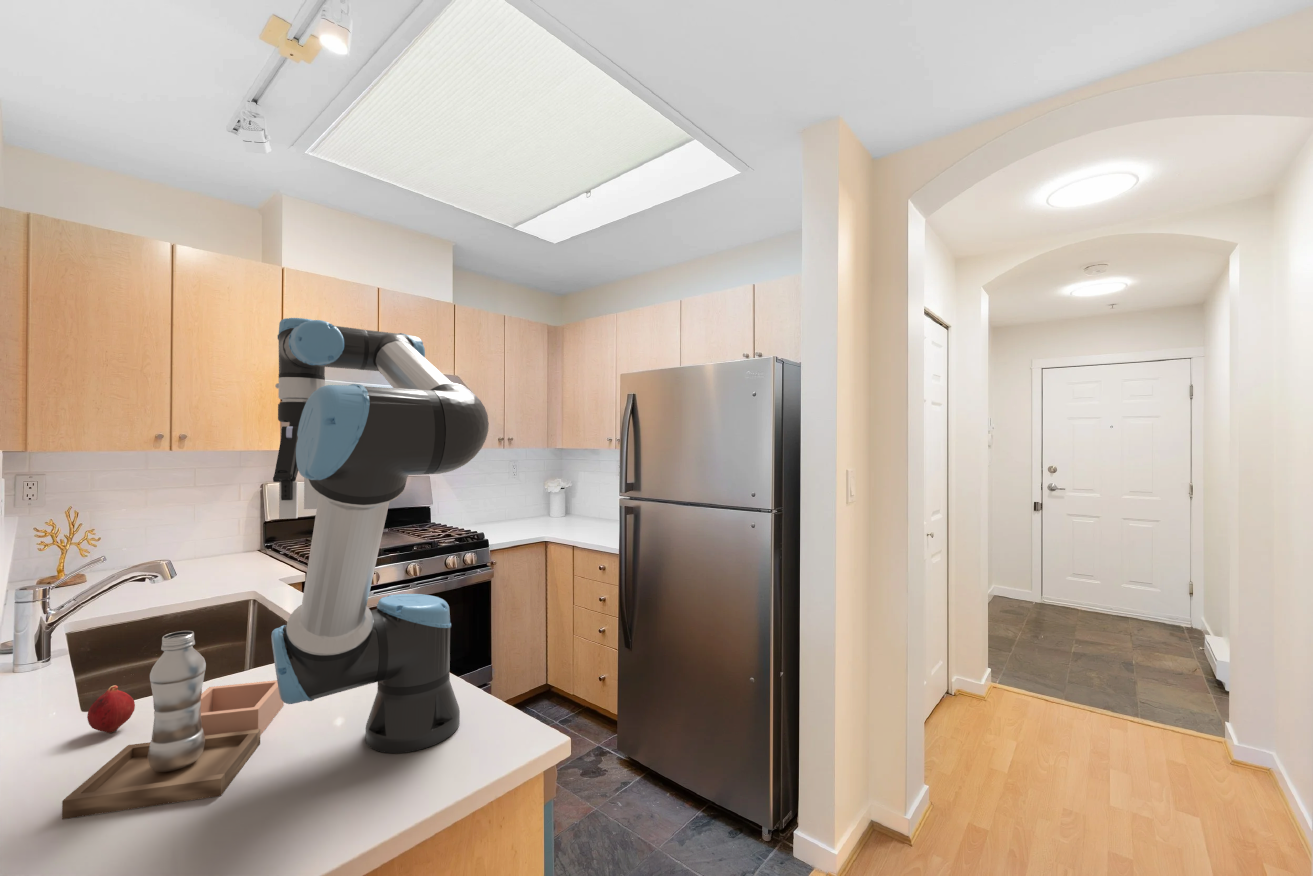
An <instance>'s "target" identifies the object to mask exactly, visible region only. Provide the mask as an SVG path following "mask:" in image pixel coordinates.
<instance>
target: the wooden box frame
mask: <svg viewBox="0 0 1313 876" xmlns="http://www.w3.org/2000/svg"><path fill="white" fill-rule="evenodd" d="M200 701H201V705H200V709H201V721H202V728H203V731H204V736H206V735H215V734H223V733H231V732H239V731H248V730H256V729H260V737H261V735H262V734H263V733H264V732H265V731H266V729H267V727H269V725H270V724H271V723H272V722H273V720H274V719H275V718H276V716H277V715H278V714H279V712H280V711H281V710H282V708H284V705H285V703H284V702H283V701H282V700H281V698H280V694H279V688H278V683H277V679H275V680H266V681H256V682H255V681H254V682H245V683H236V684H235V683H234V684H224V685H217V686H215V685H214V686H209V687H207V689H205V690H204V691H203V692H202V693H201V699H200ZM273 718H274V719H273Z"/></svg>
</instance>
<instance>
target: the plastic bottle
mask: <svg viewBox="0 0 1313 876" xmlns="http://www.w3.org/2000/svg"><path fill="white" fill-rule="evenodd" d="M194 645H196V640H195V632H194V631H193V630H181V631H175V632H171V633H167V634H165V635H163V636H162V638H161V647H160V648H161V649H160V650H161V651H163V653H162V654H161V655H160V657H159V658H158V659H157V660H156V661H155V663H154V665H153V666H152V668H151V670H150V673H149V681H150V687H151V693H152V698H153V701H152V703H153V710H154V711H153V726H152V733H151V740H150V742H151V743H150V746H149V751H148V761H149V766H150V767H151V768H152V769H153V770H154V771H157V772H168V771H173V770H177V769H180V768H183V767H186V766H188V765H190V764H192V763H194V762H195V761H196V760H197V759H198V758H199V757H200V755H201V754H202V753H203V749H204V745H205V736H204V731H203V728H202V721H201V709H200V705H201V701H200V699H201V694H202V693H203V692H202V691H203V690H202V689H203V684H204V679H205V674H206V668H207V663H206V660H205V657H204V656H202V654H201V653H200V652H199V651H197V650H196V649H195V648H194V647H193V646H194Z"/></svg>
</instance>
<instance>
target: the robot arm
mask: <svg viewBox="0 0 1313 876" xmlns="http://www.w3.org/2000/svg"><path fill="white" fill-rule="evenodd" d="M277 340H278V383H276V384H275V389H278V397H277V398H278V399H280V400H281V402H280V401H279V403H278V404H277V420H278V421H279V422H280V423H289V425H288V426H281V430H280V431H281V432H280V434H281V435H280V443H279V448H278V453H277V458H276V463H275V468H274V474H273V478H272V481H273V483H279V484H278V486H279V487H278V488H279V489H278V500H279V501H278V519H279V520H280V519H281V520H282V519H283V520H287V519H288V520H290V519H298V517H299V481H296V480H297V477H298V473H299V474H300V475H301V476H302V478H303V479H304V483H303V493H304V495H303V509H304V510H316V512H315V517H314V526H313V530H312V531H313V532H312V538H311V543H310V548H309V549H310V550H309V556H308V561H307V569H306V576H305V582H304V588H303V596H302V601H301V604H300V605H299V606H297V607H296V608H295V609H294V610H293V611H292V612H291V614H290V615H289V617H288V620H287V622H286V624H283V625H281V626H280V627H276V628H274V629H273V630H272V632H271V646H272V654H273V660H274V661H273V662H274V669H275V675H276V676H275V677H276V680H277V683H278V688H279V694H280V698H281V700H282V701H283V702H284V704H288V705H294V704H298V703H302V702H312V701H315V700H317V699H320V698H324V697H327V696H331V695H334V694H339V693H342V692H345V691H349V690H352V689H357V688H360V687H364V686H367V685H368V686H369V685H371V684H375V683H377V690H376V691H377V692H376V694H375V698H374V700H373V703H372V706H371V710H370V712H369V715H368V718H367V721H366V724H365V743H366V744H367V747H369V748H371V750H372V749H373V750H374V751H377V752H381V753H389V754H400V753H401V754H402V753H410V752H416V751H419V750H423V749H427V748H429V747H433V746H434V745H436V744H439V743H441V742H444V741H445V740H447V739H448V738H450V737H451V736H452V735H453V734H454V733H455V732H456V731H457V730H458V729H459V726H460V723H461V720H460V719H461V718H460V717H461V713H460V712H461V711H460V707H459V704H458V700H457V698H456V693H455V691H454V689H453V687H452V684H451V683H452V682H451V679H450V674H451V672H450V671H451V669H450V668H451V667H450V664H451V663H450V661H451V654H450V653H451V628H452V622H451V615H450V606H449V604H448V602H447V601H446V600H445V599H443V598H441V597H439V596H435V595H429V594H424V593H423V594H422V593H399V594H398V593H397V594H391V595H387V596H383V597H381V598H380V599H379V600H378V602H377V604H376V608H375V609H372V610H371V609H370V608H369V606H368V600H369V596H370V591H371V587H372V583H373V578H374V574H375V570H376V565H377V561H378V560H377V559H378V556H379V551H380V547H381V541H382V538H383V532H384V529H385V523H386V520H387V515H388V509H389V506H390V502H392V501H395V500H396V499H398V498H399V497H400V496H401V495H402V494H403V492H404V491H405V488H406V483H407V480H408V477H409V476H421V475H422V476H424V475H426V476H427V475H440V474H445V473H446V474H447V473H449V472H454V470H455V471H456V470H458V469H459V468H461V467H464V466H465V465H466V464H468V463H469V462H470V461H472V460H473V459H474V458H475V457H476V456H477V455H478V453H480V451H481V450H482V448H483V446H484V445H485V443H486V440H487V438H488V434H489V433H488V432H489V416H488V412H487V410H486V408H485V406H484V404H483V401H482V400H481V399H480V398H478V396H477V395H476V394H475V393H474V392H473V391H471V390H470V389H469V388H468V387H467V386H464V385H463V384H459V383H456V382H452V381H451V380H449V378H448V377H447V376H445V374H443V373H442V372H441V371H440V370H439V369H438V368H436V367H435V366H434V364H432V363H431V362H430V361H429V360H428V359H426V349H425V346H424V342H423V341H422V339H421V338H420V337H418V336H417V335H416V336H415V335H410V334H405V333H402V332H399V333H395V332H385V331H379V330H378V331H377V330H368V329H360V328H356V327H355V328H354V327H347V326H346V327H345V326H338V325H334V324H332V323H330V322H329V321H326V320H322V319H310V318H305V317H304V318H303V317H302V318H301V317H288V318H286V317H285V318H283V319H281V320H280V321H279V324H278V334H277ZM326 368H334V369H335V368H336V369H345V370H346V369H348V370H359V371H360V370H361V371H370V372H379V374H381V375H382V376H383V378H384V379H385V380H386V381H387V382H388V383H389V385H391V386H390V387H382V386H381V387H380V386H379V387H378V386H365V385H363V384H357V383H352V384H348V385H347V384H344V385H343V384H342V385H341V384H340V385H339V384H327V385H326V377H325V375H326V374H325V373H326V371H325V370H326Z"/></svg>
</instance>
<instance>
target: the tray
mask: <svg viewBox="0 0 1313 876" xmlns="http://www.w3.org/2000/svg"><path fill="white" fill-rule="evenodd" d="M150 743H151V741H150V742H143V743H142V742H141V743H134V744H128V745H126V746H125V747H124V748H122V750H120V751H119V752H118V753H117V754H116V755H114V756H113V757H112V758H111V759H110V760H109V761H108V762H106V763H105V764H104V765H103V766H101V767H100V768H99V769H97V771H96V772H94V773H93V774H92V775H90V776H89V777H88V778H87V779H86V780H85V781H83V782H82V784H80V785H78V787H76V788H75V789H74V790H72V792H71V793H69V794H68V795H67V796H66V797H65V798H64V799H63V800H62V801H61V820H67V819H68V820H69V819H73V818H79V817H80V818H81V817H87V816H94V815H101V814H108V813H113V812H114V813H115V812H121V811H129V810H135V809H143V808H149V807H155V806H156V807H157V806H161V805H162V806H163V805H169V804H174V803H175V804H176V803H183V802H189V801H196V800H202V799H203V800H204V799H209V798H216V797H222V795H223V794H224V792H225V791H226V789H227V788H229V786H230V785H231V783H232V782H233V780H235V778H236V777H237V775H238V774H239V773H240V772H241V770H242V769H243V767H245V765H246V763H247V762H248V761H249V759H250V758H251V757H252V756H253V754H254V753H255V752H256V750H257V749H258V747H259V746H260V745H261V736H260V729H256V730H248V731H239V732H231V733H223V734H215V735H206V736H205V745H204V749H203V753H202V754H201V755H200V757H199V758H198V759H197V760H196V761H195V762H194V763H192V764H190V765H188V766H186V767H183V768H180V769H177V770H173V771H168V772H157V771H154V770H153V769H152V768H151V767H150V766H149V761H148V751H149V746H150Z"/></svg>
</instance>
